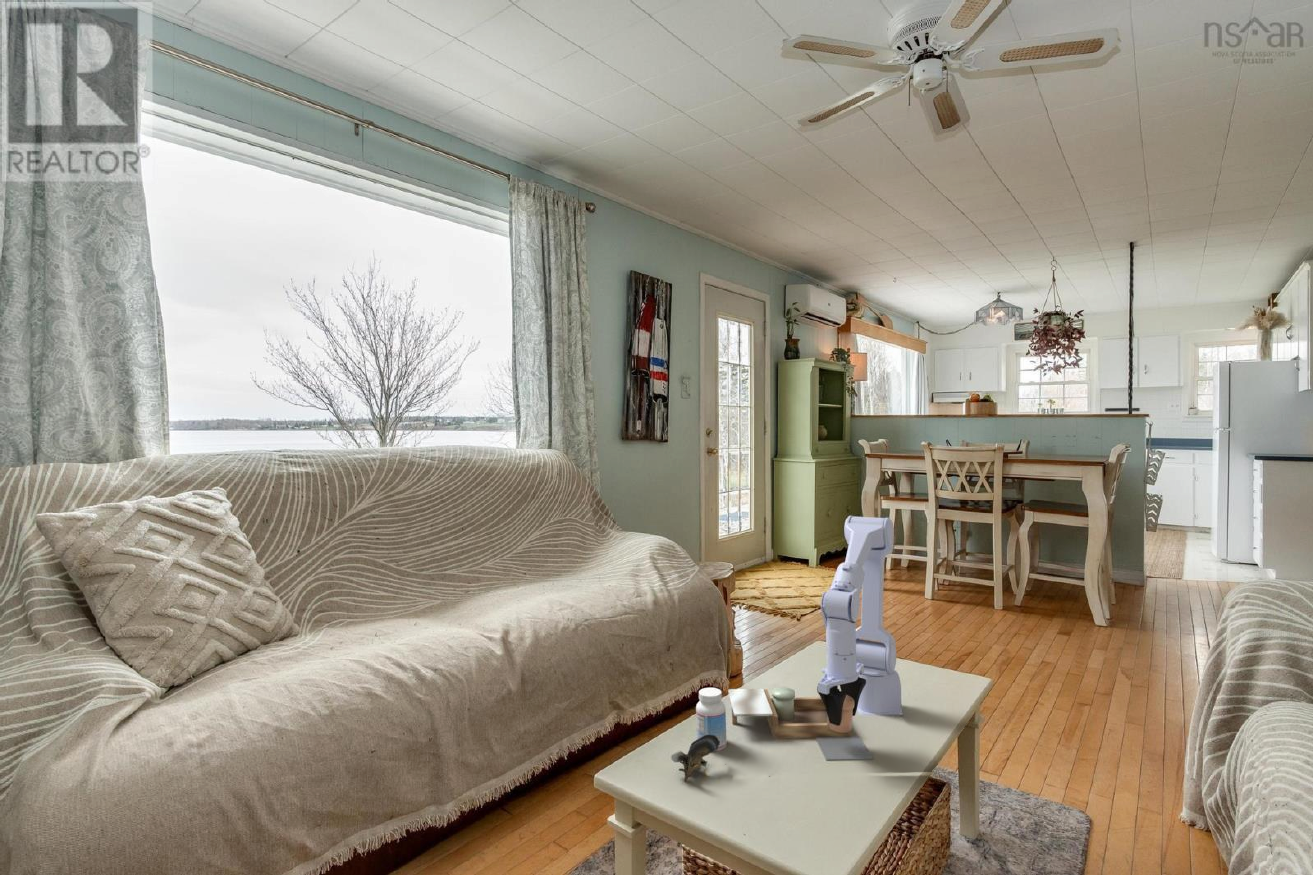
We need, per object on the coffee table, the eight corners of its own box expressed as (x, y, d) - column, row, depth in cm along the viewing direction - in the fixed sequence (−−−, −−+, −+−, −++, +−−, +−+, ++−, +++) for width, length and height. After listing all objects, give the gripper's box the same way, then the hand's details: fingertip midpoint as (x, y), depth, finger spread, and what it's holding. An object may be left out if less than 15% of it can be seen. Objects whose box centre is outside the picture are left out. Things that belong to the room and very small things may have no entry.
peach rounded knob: (850, 719, 131) (851, 693, 131) (856, 734, 126) (857, 707, 126) (823, 718, 132) (824, 692, 131) (828, 732, 127) (829, 705, 126)
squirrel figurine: (713, 782, 116) (729, 751, 124) (690, 749, 117) (707, 719, 125) (683, 795, 120) (700, 763, 128) (660, 762, 120) (679, 733, 128)
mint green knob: (793, 711, 146) (792, 686, 146) (797, 720, 141) (797, 695, 141) (770, 711, 146) (770, 687, 146) (774, 721, 141) (774, 696, 141)
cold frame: (833, 710, 147) (832, 686, 147) (851, 739, 133) (850, 713, 133) (728, 711, 148) (727, 688, 148) (735, 741, 134) (734, 715, 134)
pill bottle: (729, 741, 134) (728, 687, 134) (722, 755, 128) (721, 699, 128) (701, 737, 136) (700, 684, 135) (693, 751, 130) (692, 696, 130)
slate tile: (859, 740, 133) (859, 736, 133) (873, 762, 124) (873, 758, 124) (815, 741, 133) (815, 737, 133) (826, 763, 124) (826, 759, 124)
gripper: (841, 638, 136) (843, 702, 136) (803, 655, 126) (805, 724, 126) (873, 645, 131) (874, 711, 131) (835, 664, 121) (837, 736, 121)
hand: (842, 719), depth 128 cm, fingers closed on peach rounded knob, 5 cm apart
